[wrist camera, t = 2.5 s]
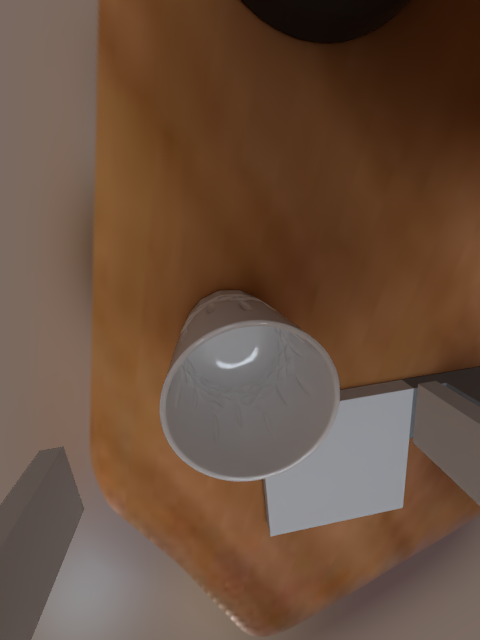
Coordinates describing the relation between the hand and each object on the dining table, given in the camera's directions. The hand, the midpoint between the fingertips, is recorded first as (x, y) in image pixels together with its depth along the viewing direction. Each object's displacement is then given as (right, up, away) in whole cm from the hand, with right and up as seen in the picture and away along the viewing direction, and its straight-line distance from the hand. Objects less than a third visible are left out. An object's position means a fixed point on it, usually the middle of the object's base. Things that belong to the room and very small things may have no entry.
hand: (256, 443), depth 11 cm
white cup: (-1, +4, +11) cm, 12 cm away
